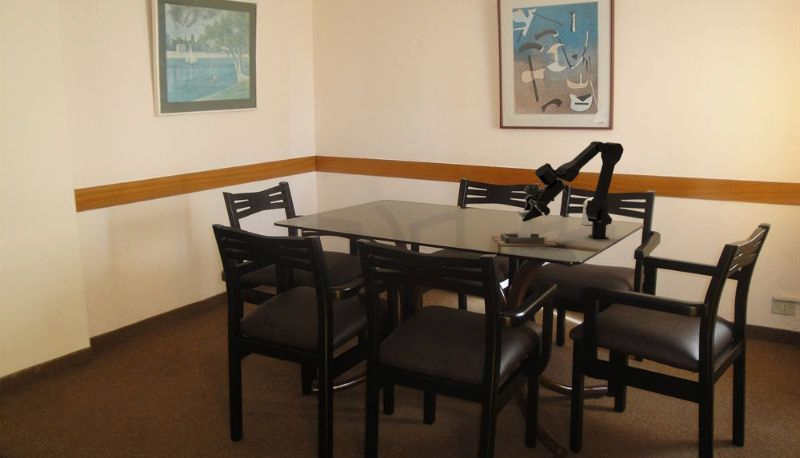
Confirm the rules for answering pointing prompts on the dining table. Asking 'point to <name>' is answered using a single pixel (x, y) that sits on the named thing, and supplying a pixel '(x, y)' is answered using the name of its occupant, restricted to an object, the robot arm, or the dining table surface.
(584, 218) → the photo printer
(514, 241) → the brown flat board
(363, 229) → the dining table surface
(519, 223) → the cream square-faced block
